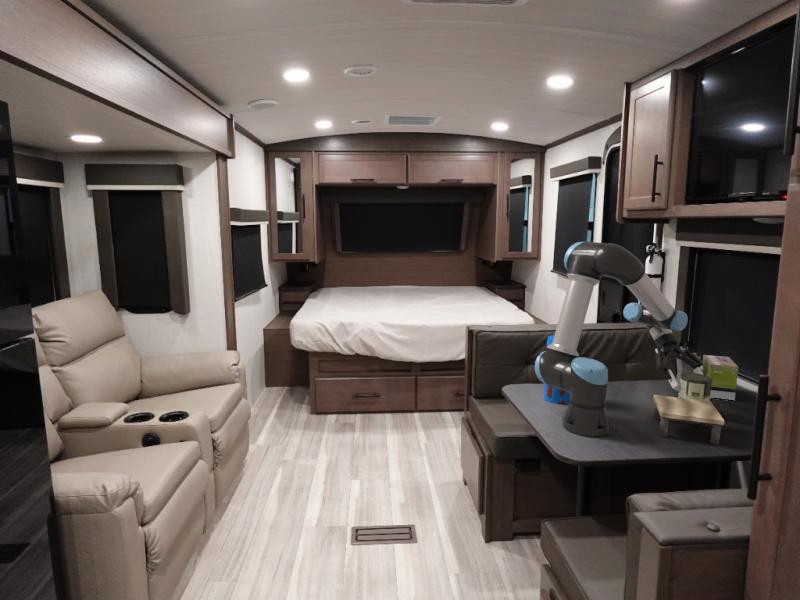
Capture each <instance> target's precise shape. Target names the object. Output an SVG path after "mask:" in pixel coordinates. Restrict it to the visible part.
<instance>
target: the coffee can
mask: <svg viewBox="0 0 800 600" xmlns="http://www.w3.org/2000/svg"><path fill="white" fill-rule="evenodd" d="M711 384H712V378H711V377H709V376H706V375H702V374H697V373H682V374H680V386H679V392H678V398H687V399H695V400H704V401H710V399H711V398H710V392H711Z"/></svg>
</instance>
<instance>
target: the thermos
mask: <svg viewBox="0 0 800 600" xmlns="http://www.w3.org/2000/svg"><path fill="white" fill-rule="evenodd" d="M554 335H555V334H553V335H549V336H547V340H546V347H547V346H549V345H550V344H552V343H553V339H554ZM543 385H544V386H543V399H544V400H545V401H546V402H549V403H550V404H555V403H556V404H555V405H568V404H569V397H570V393H568V392H566V391H563V390H561V389H558V388H556V387H553V386H549V385H547V384H546V383H543ZM567 403H568V404H567Z"/></svg>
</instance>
